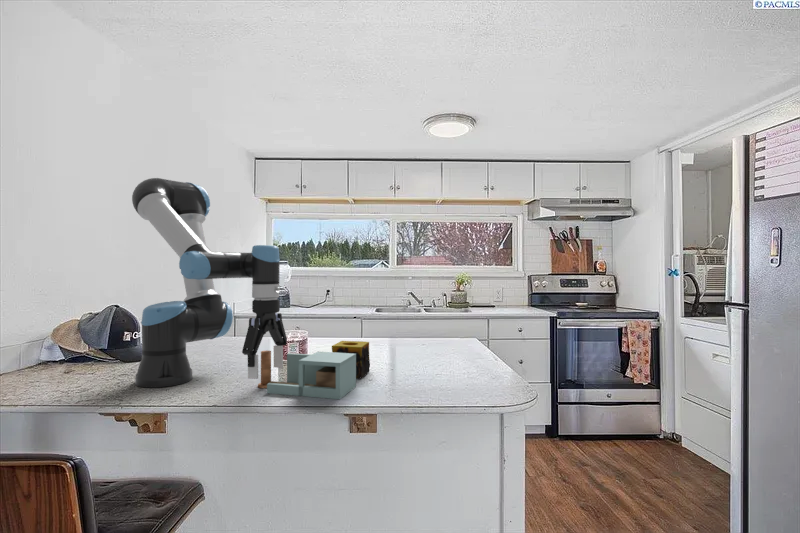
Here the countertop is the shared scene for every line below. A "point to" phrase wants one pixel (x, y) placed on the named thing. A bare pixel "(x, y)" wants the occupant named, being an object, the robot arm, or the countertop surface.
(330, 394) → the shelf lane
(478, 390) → the countertop surface
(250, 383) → the countertop surface
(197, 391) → the countertop surface
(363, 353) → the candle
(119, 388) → the countertop surface
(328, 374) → the tethered block
